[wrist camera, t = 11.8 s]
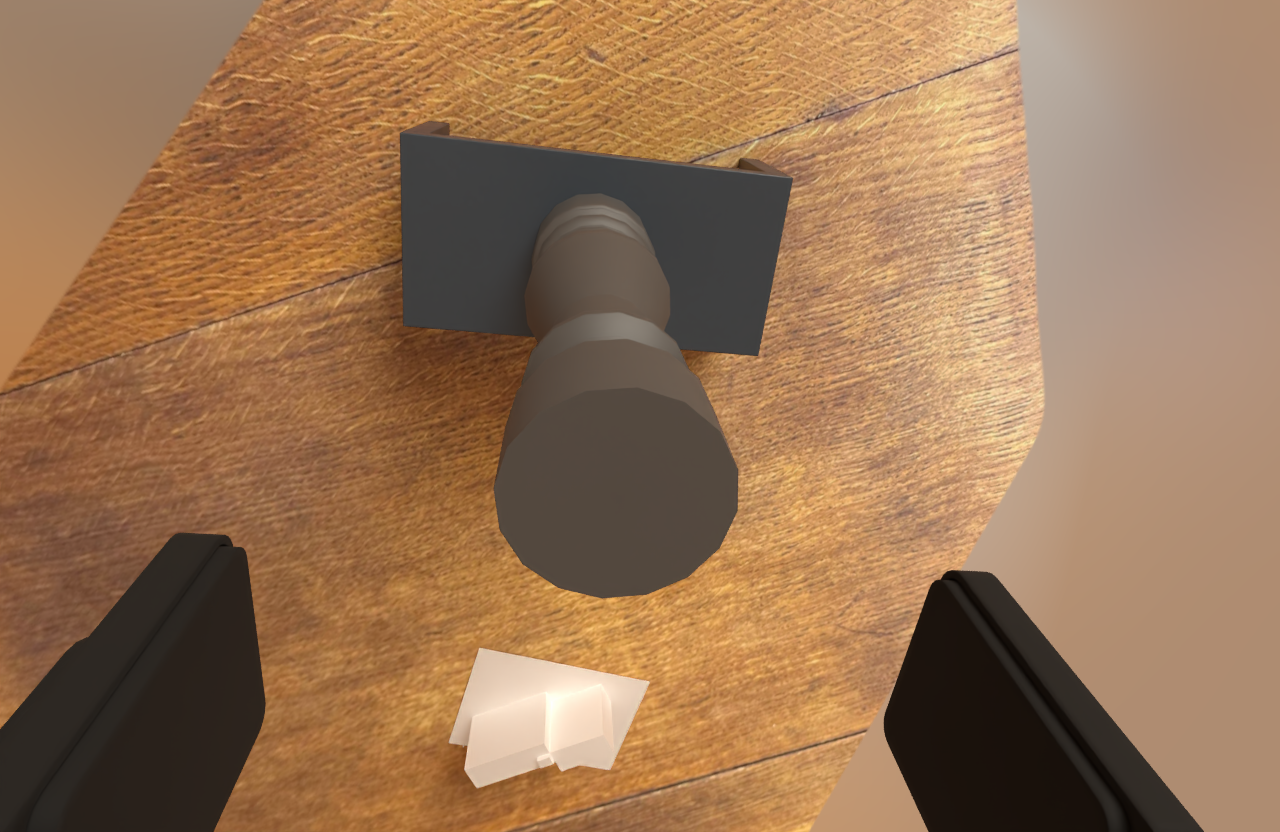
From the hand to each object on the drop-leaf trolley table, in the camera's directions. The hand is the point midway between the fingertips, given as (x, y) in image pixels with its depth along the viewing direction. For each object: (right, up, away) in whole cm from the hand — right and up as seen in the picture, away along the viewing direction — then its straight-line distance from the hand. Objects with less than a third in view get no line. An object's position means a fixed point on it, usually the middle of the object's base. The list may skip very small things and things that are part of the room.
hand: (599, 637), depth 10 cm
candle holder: (-2, +12, +30) cm, 32 cm away
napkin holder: (-7, -23, +54) cm, 59 cm away
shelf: (-3, +15, +37) cm, 40 cm away
